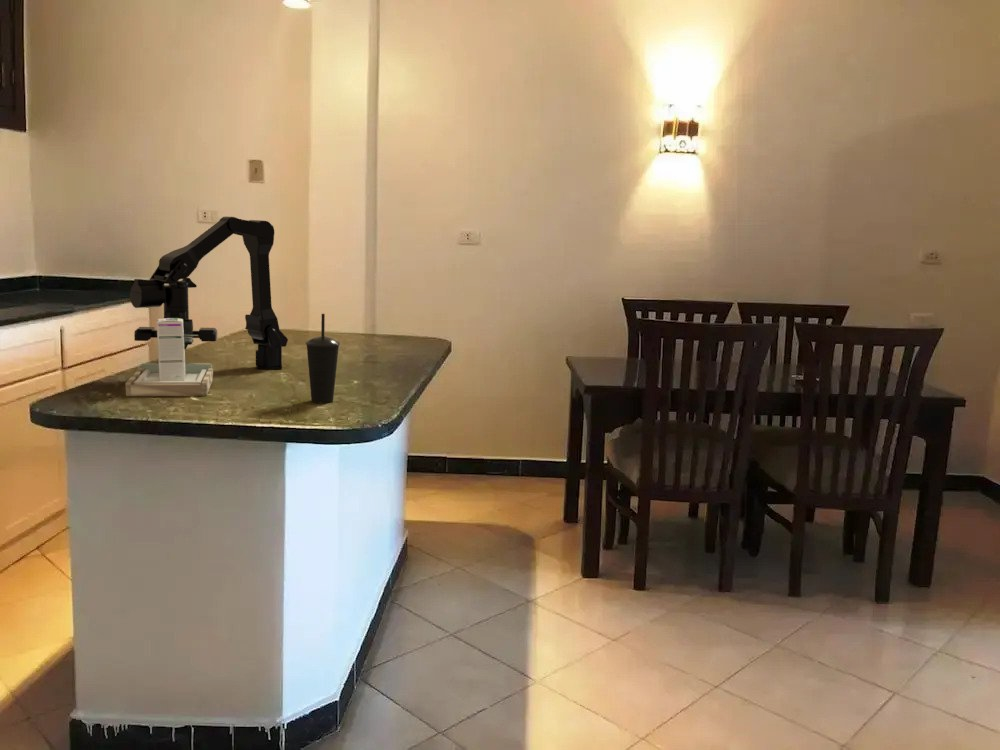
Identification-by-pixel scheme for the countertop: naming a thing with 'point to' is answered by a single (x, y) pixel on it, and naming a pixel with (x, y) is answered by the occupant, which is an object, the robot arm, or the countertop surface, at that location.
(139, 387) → the dock
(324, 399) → the drinking cup
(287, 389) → the countertop surface
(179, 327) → the syrup box
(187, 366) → the tray
